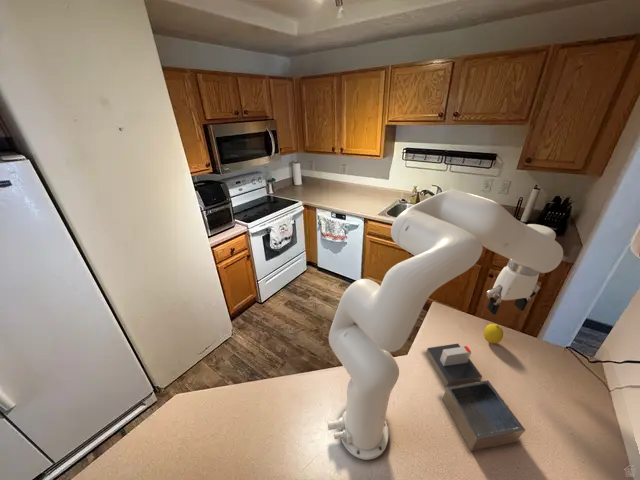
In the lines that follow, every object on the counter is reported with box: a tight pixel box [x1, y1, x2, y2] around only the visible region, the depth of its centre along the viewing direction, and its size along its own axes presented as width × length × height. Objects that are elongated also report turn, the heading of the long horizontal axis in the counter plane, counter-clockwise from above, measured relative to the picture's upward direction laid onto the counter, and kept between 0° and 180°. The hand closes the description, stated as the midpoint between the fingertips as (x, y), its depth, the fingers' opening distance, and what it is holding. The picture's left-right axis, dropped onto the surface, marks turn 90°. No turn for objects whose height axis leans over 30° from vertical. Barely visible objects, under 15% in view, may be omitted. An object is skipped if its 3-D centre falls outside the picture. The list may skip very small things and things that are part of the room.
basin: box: [442, 379, 526, 452], centre depth 68 cm, size 13×13×6 cm
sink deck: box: [425, 343, 483, 389], centre depth 82 cm, size 11×12×3 cm
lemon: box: [483, 323, 504, 344], centre depth 89 cm, size 6×6×8 cm
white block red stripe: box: [440, 345, 472, 366], centre depth 80 cm, size 8×2×5 cm, turn 98°
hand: (505, 309), depth 83 cm, fingers open, 9 cm apart
